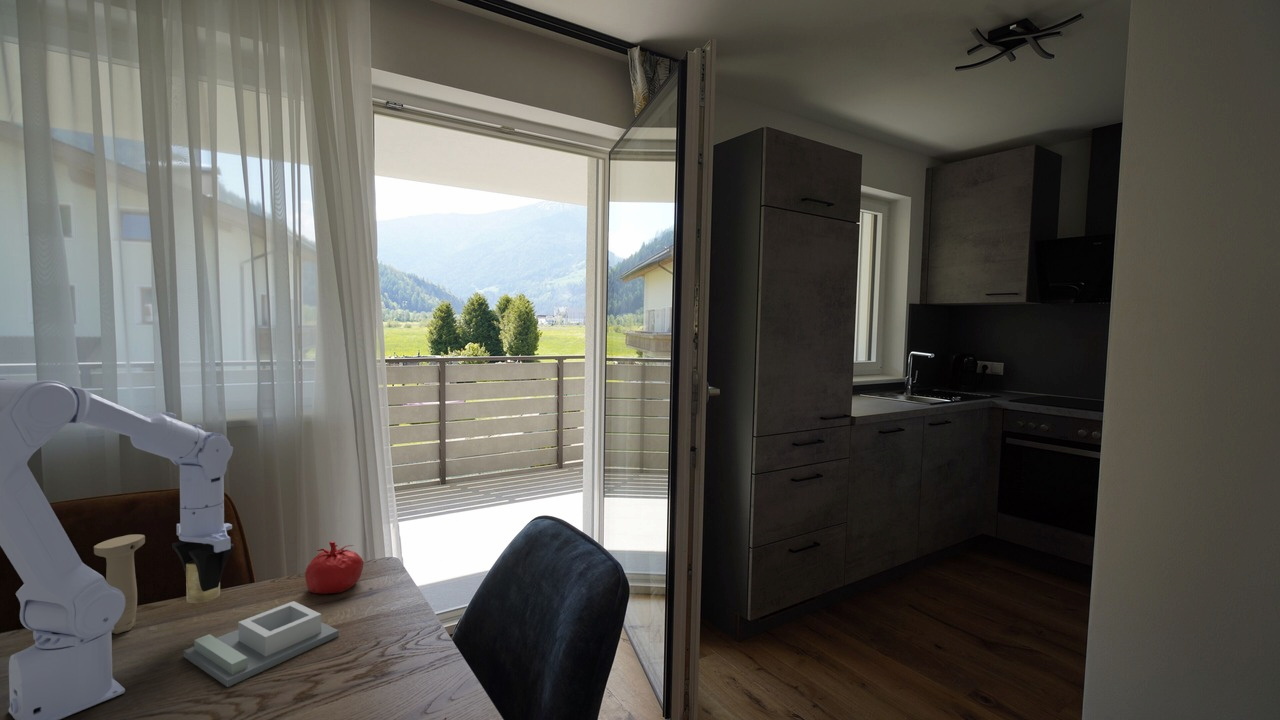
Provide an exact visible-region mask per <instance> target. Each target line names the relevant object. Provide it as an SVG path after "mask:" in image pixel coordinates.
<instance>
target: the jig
mask: <svg viewBox="0 0 1280 720" xmlns="http://www.w3.org/2000/svg"><path fill="white" fill-rule="evenodd" d="M237 626H238V627H237V628H238V629H236V630H234V631H233V630H232V631H230V632H228V633H225V634H223V635H220V636H218V637H215V636H214V635H212V634H210V633H209V634H206V635H203V636H201V637H198V638H196V639H194V640H193V641H194V644H193V645H194V646H192V647H190V648H186V649H184V650H183V658H185V659H186V660H187V661H189V662H191V663H192V664H193V665H195V666H197V668H199V669H200V670H202V671H203V672H205V673H206V674H208V675H209V676H211V677H212V678H214V679H216V680H217V681H218V682H219V683H221V685H224V686H225V687H227V688H229V687H232V686H234V685H236V684H238V683H240V682H242V681H245V680H246V679H249V678H251V677H253V676H255V675H257V674H260V673H261V672H264V671H266V670H268V669H270V668H272V667H275V666H277V665H279V664H282V663H283V662H286V661H288V660H290V659H292V658H294V657H297V656H299V655H300V654H303V653H305V652H308V651H310V650H311V649H314V648H316V647H318V646H321V645H323V644H325V643H326V642H329V641H331V640H333V639H337V638H338V637H339V630H338V629H336V628H334V627H332V626H331V625H329V624H327V623H324V622H322V613H320V612H318V611H315V610H313V609H311V608H309V607H307V606H305V605H303V604H300V603H299V602H296V601H294V600H293V601H290V602H288V603H287V602H286V603H284V604H282V605H279V606H277V607H273V608H271V609H269V610H267V611H266V610H265V611H263V612H261V613H259V614H256V615H253V616H251V617H247V618H246V619H242V620H240V621H238V622H237Z"/></svg>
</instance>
